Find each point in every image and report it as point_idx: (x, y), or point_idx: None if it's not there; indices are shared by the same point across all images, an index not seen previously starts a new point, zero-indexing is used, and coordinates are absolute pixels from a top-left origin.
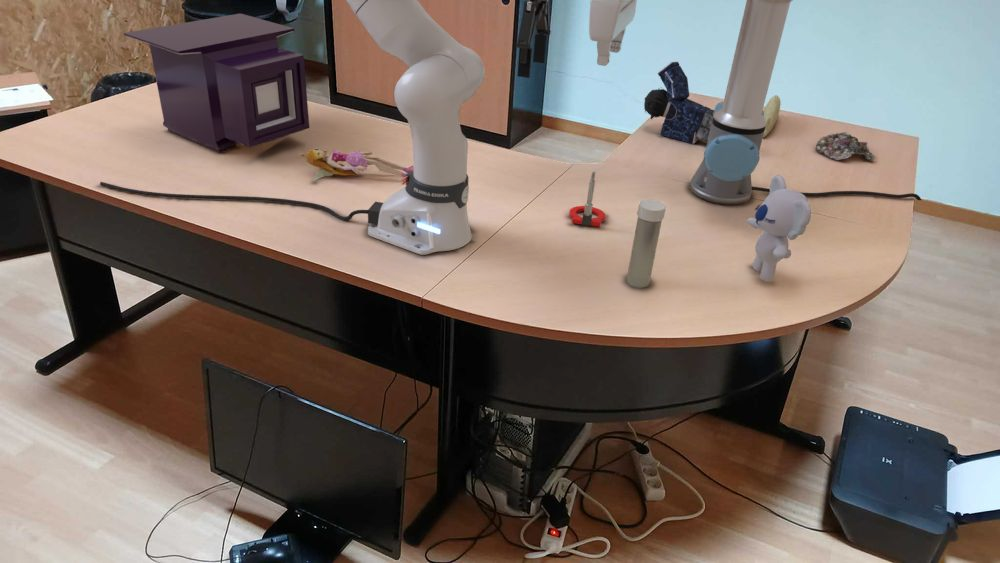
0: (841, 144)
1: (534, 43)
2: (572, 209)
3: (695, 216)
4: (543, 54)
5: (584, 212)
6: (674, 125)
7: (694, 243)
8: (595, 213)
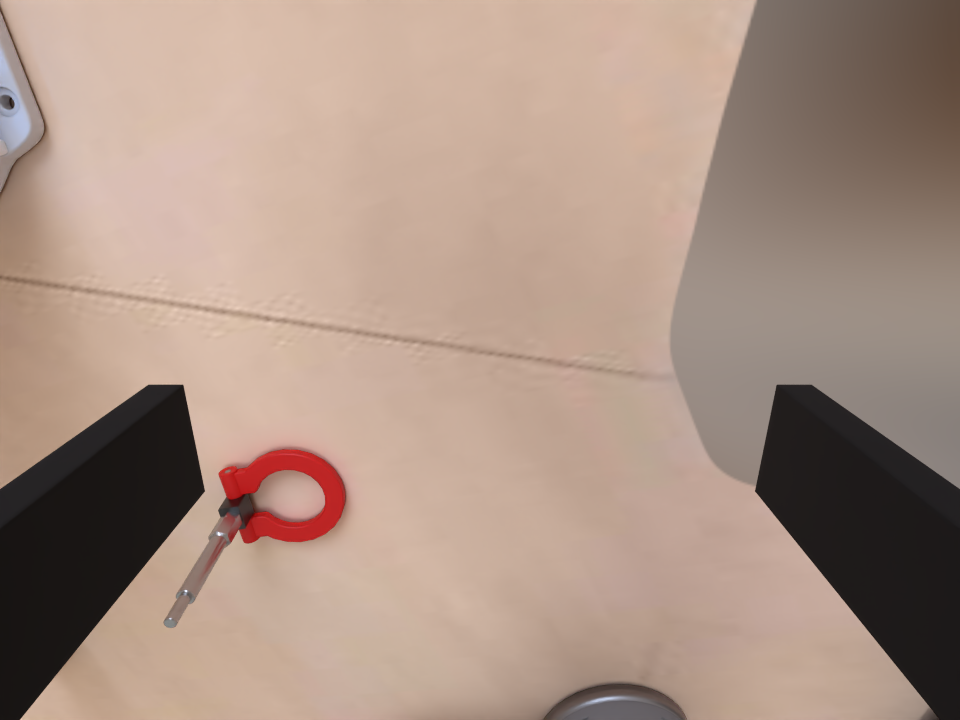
0: None
1: (932, 505)
2: (290, 459)
3: (442, 702)
4: (805, 543)
5: (225, 514)
6: None
7: (299, 709)
8: (322, 510)
